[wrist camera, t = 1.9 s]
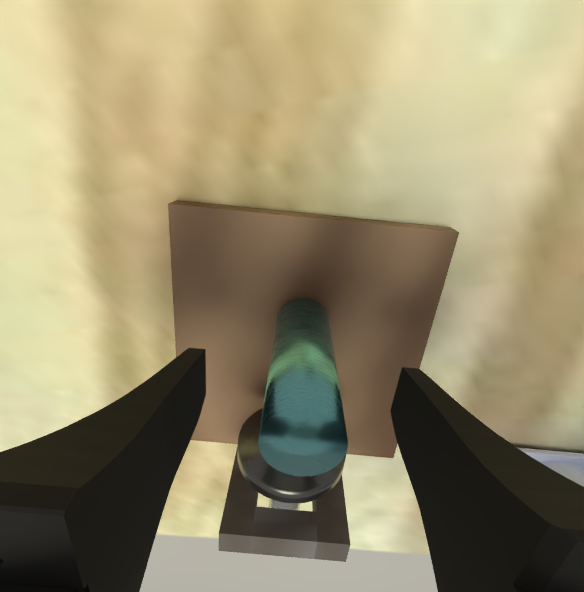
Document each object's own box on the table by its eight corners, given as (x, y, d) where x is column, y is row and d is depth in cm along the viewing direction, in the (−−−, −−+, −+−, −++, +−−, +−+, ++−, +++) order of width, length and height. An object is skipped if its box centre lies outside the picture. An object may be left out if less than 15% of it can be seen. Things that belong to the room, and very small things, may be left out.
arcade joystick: (357, 303, 16) (398, 418, 9) (326, 470, 21) (338, 630, 14) (252, 293, 16) (217, 401, 9) (244, 463, 21) (215, 620, 14)
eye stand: (450, 227, 16) (551, 283, 10) (389, 445, 22) (426, 574, 15) (175, 200, 16) (88, 238, 9) (185, 426, 22) (135, 548, 15)
